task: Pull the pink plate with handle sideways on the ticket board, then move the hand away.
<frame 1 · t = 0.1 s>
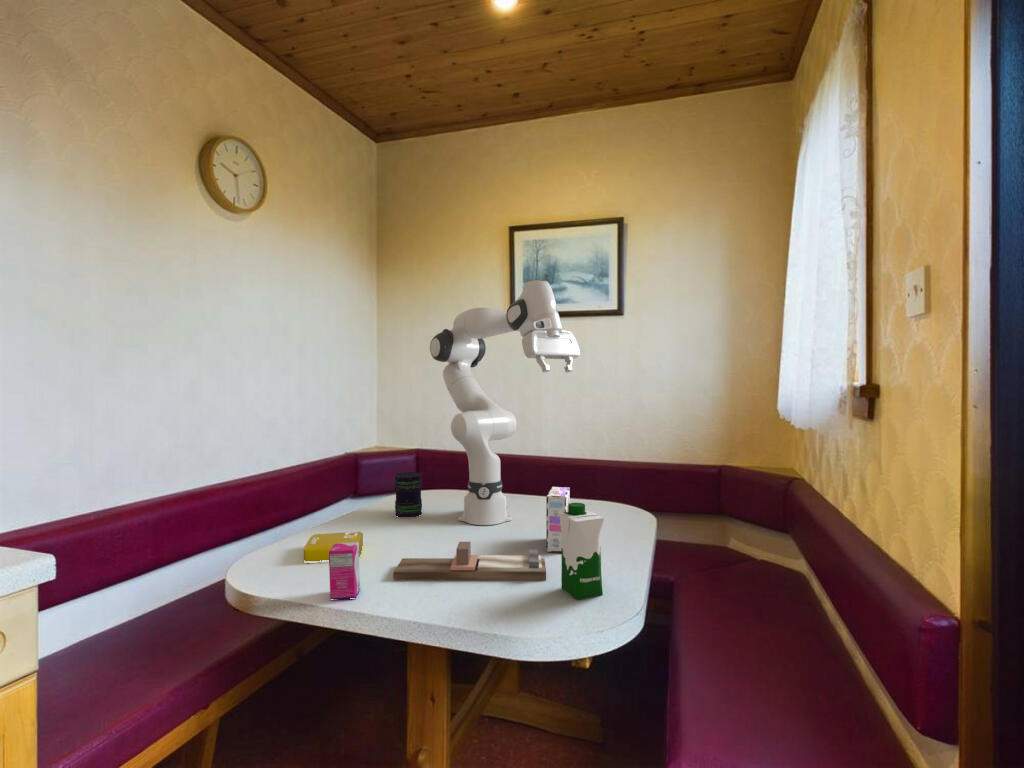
hand: (557, 371, 155), 52 cm above the table, tool tilted 20°, fingers open, 8 cm apart
element tile: (334, 555, 150), on the table
candy box: (558, 546, 156), on the table
milk carton: (581, 592, 122), on the table
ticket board: (494, 572, 134), on the table
storage jar: (408, 515, 193), on the table
supplement box: (345, 596, 121), on the table
pink plate with handle: (464, 554, 134), point 5 cm above the table, slide at 0.0 cm
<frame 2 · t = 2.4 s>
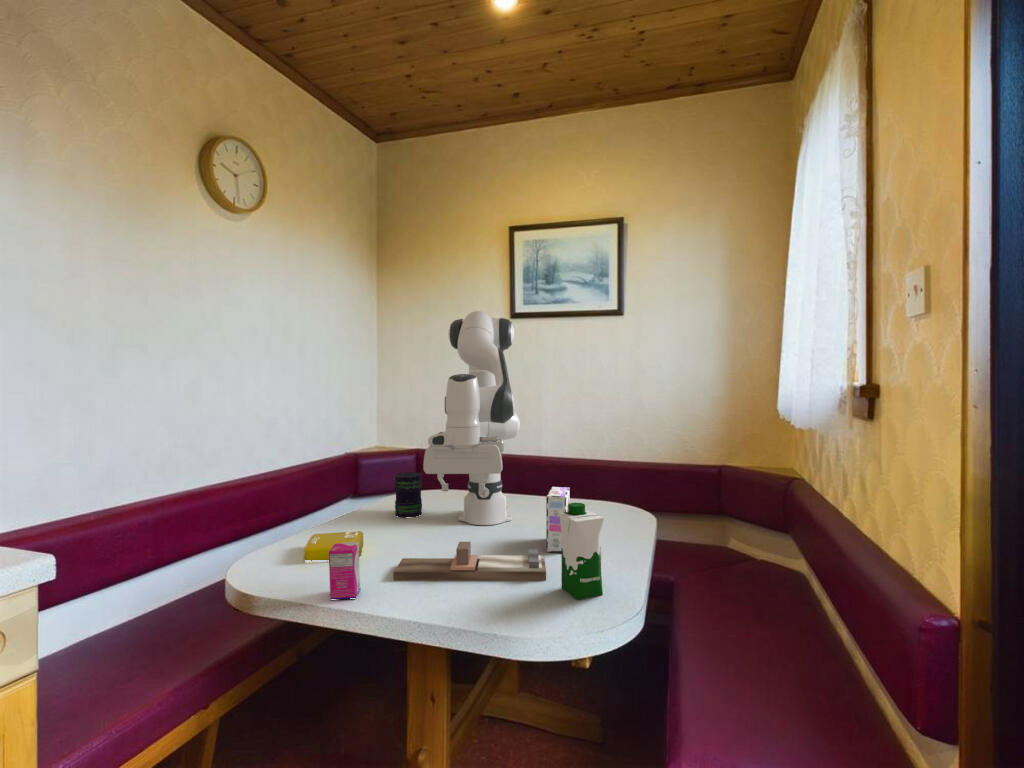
hand: (463, 490, 134), 21 cm above the table, tool pointing down, fingers open, 8 cm apart
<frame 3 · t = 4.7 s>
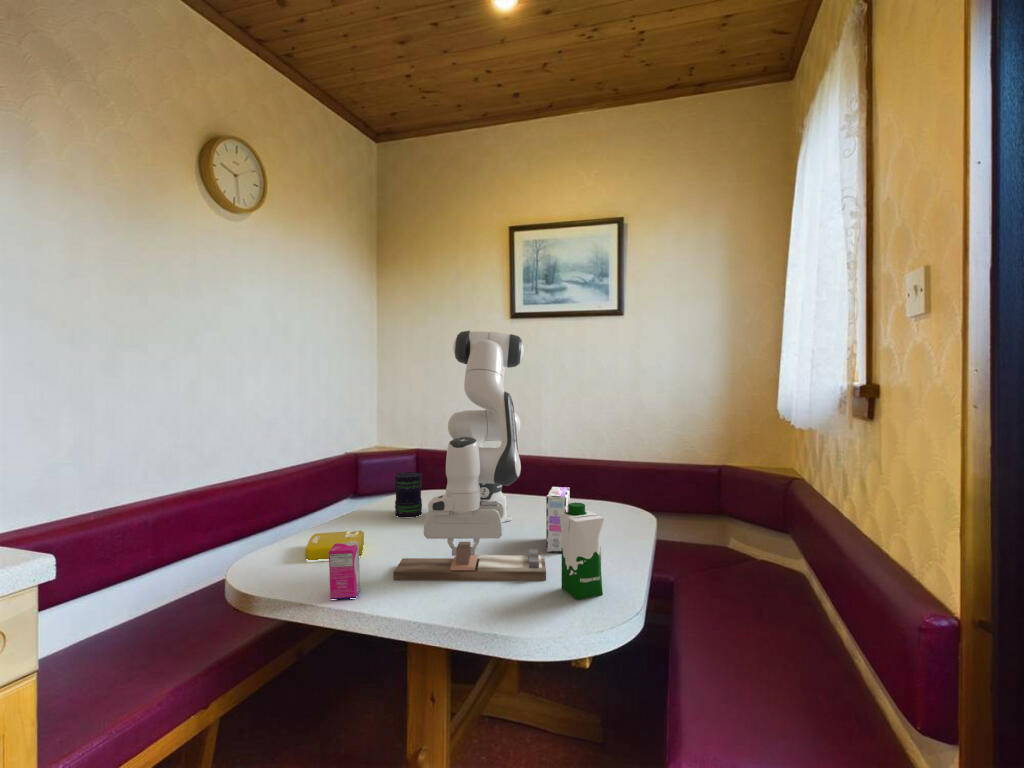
hand: (463, 554, 134), 5 cm above the table, tool pointing down, fingers closed on pink plate with handle, 3 cm apart
pink plate with handle: (464, 554, 134), point 5 cm above the table, slide at 0.0 cm, touching gripper
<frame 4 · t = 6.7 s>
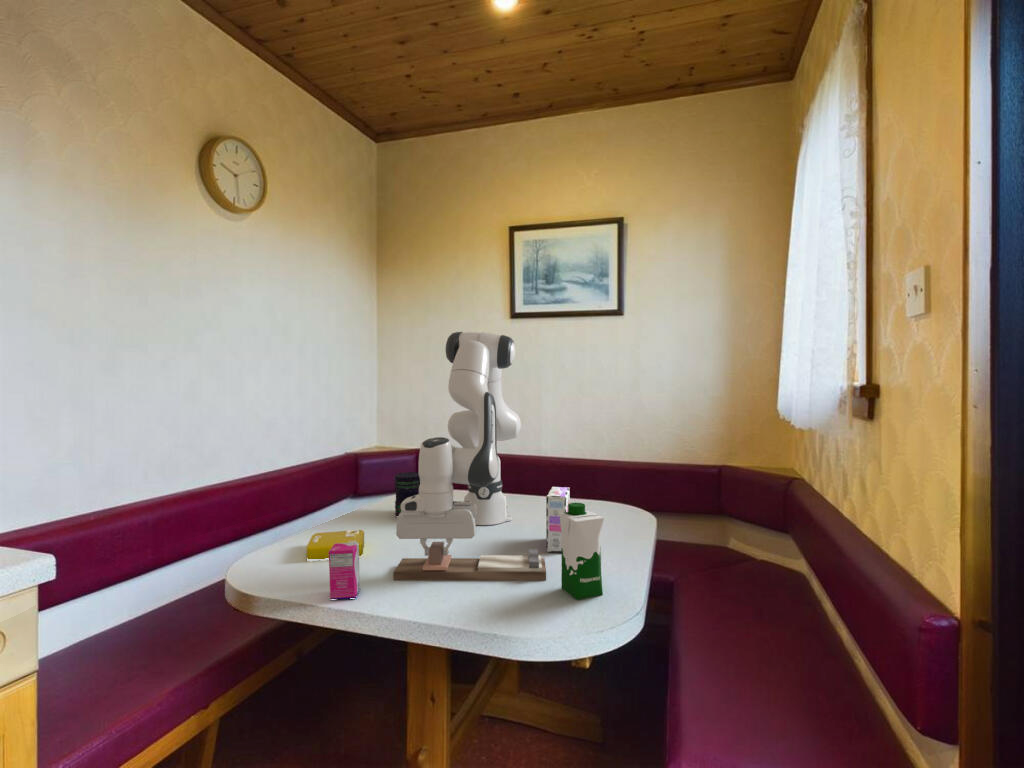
hand: (436, 555, 134), 5 cm above the table, tool pointing down, fingers closed on pink plate with handle, 3 cm apart
pink plate with handle: (437, 554, 134), point 5 cm above the table, slide at 7.0 cm, touching gripper
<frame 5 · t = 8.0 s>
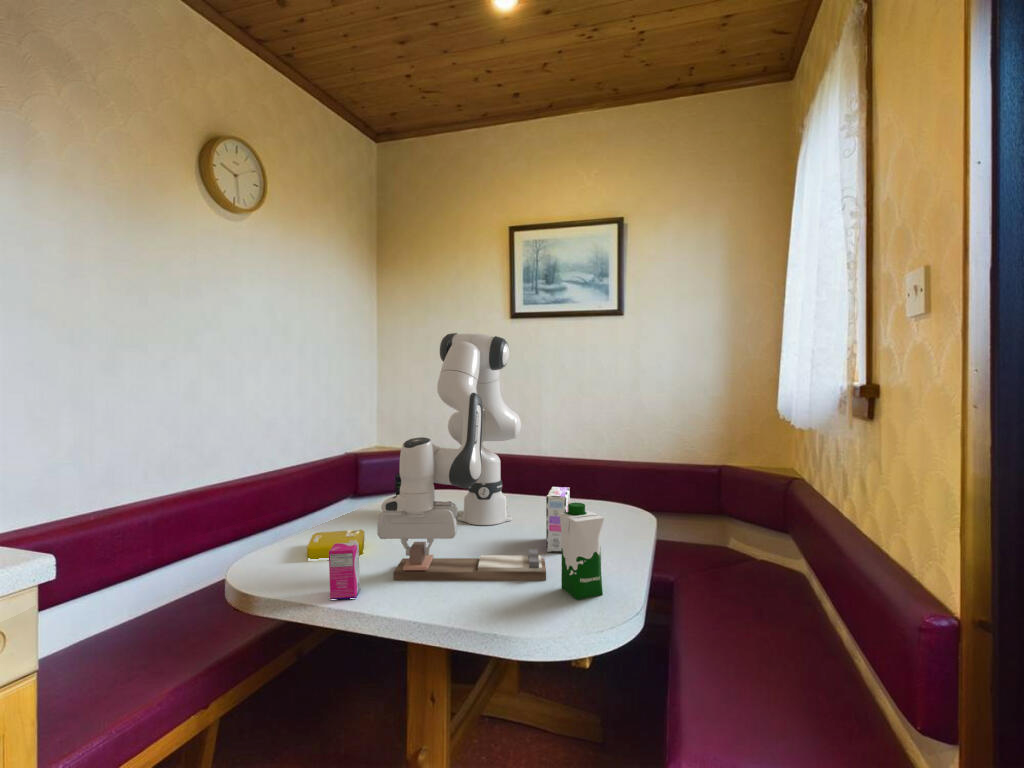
hand: (417, 555, 135), 5 cm above the table, tool pointing down, fingers closed on pink plate with handle, 3 cm apart
pink plate with handle: (418, 554, 134), point 5 cm above the table, slide at 11.9 cm, touching gripper
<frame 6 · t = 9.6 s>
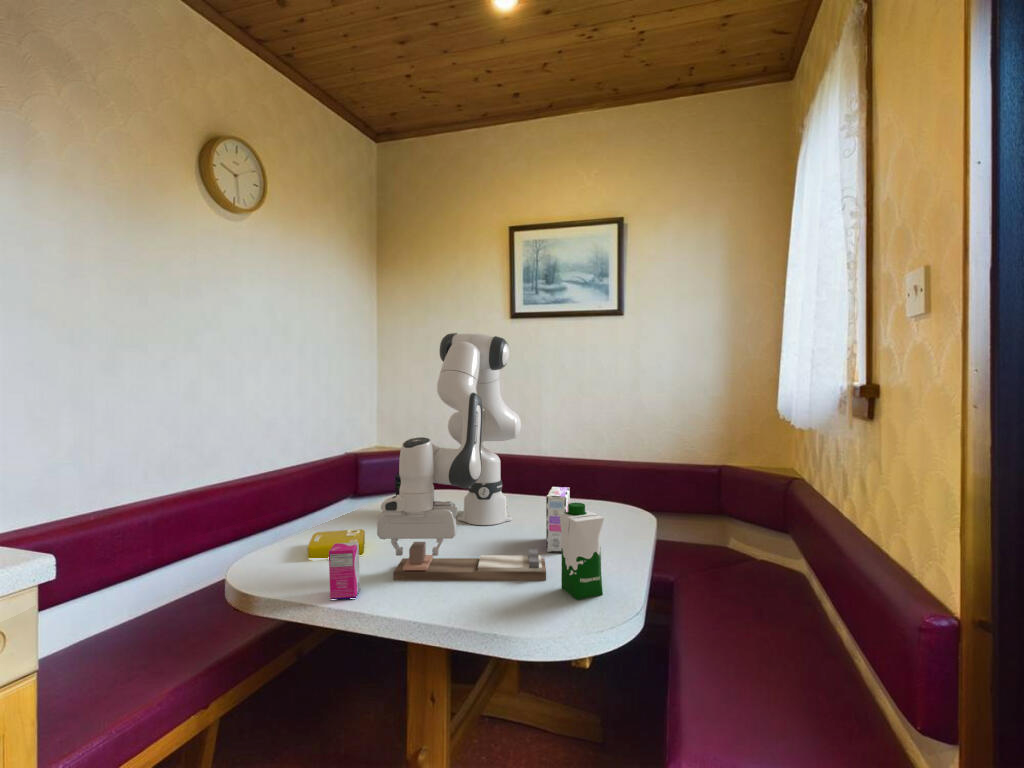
hand: (417, 554, 135), 5 cm above the table, tool pointing down, fingers open, 8 cm apart
pink plate with handle: (418, 554, 134), point 5 cm above the table, slide at 11.9 cm
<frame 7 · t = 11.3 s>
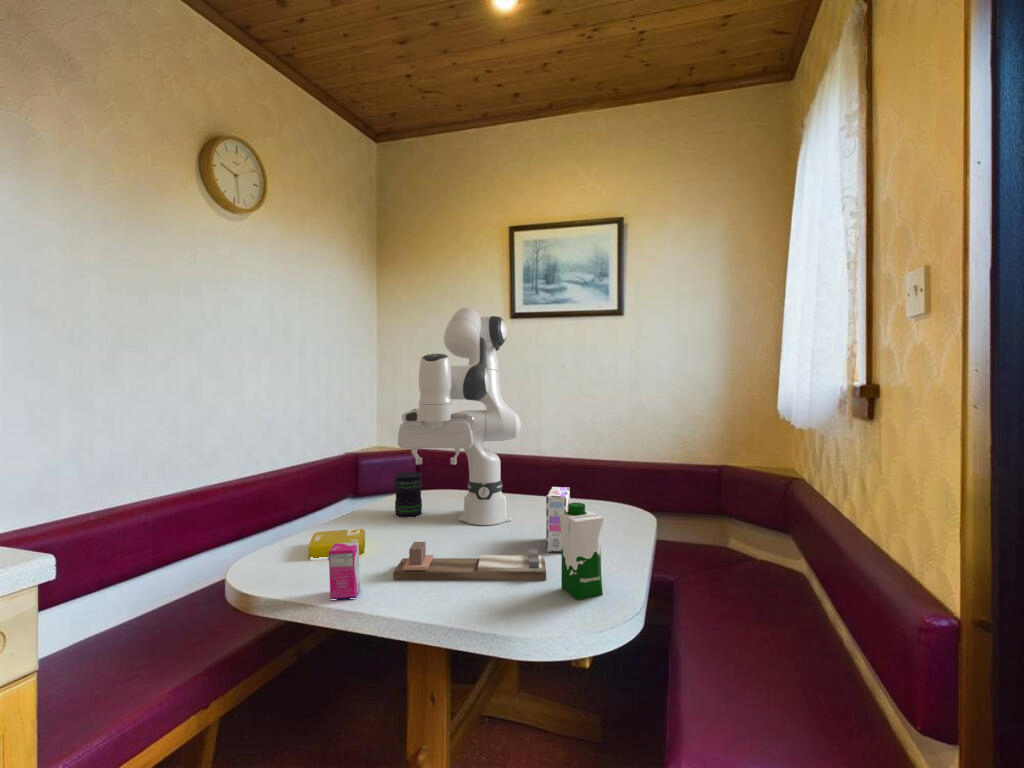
hand: (436, 464, 142), 27 cm above the table, tool pointing down, fingers open, 8 cm apart
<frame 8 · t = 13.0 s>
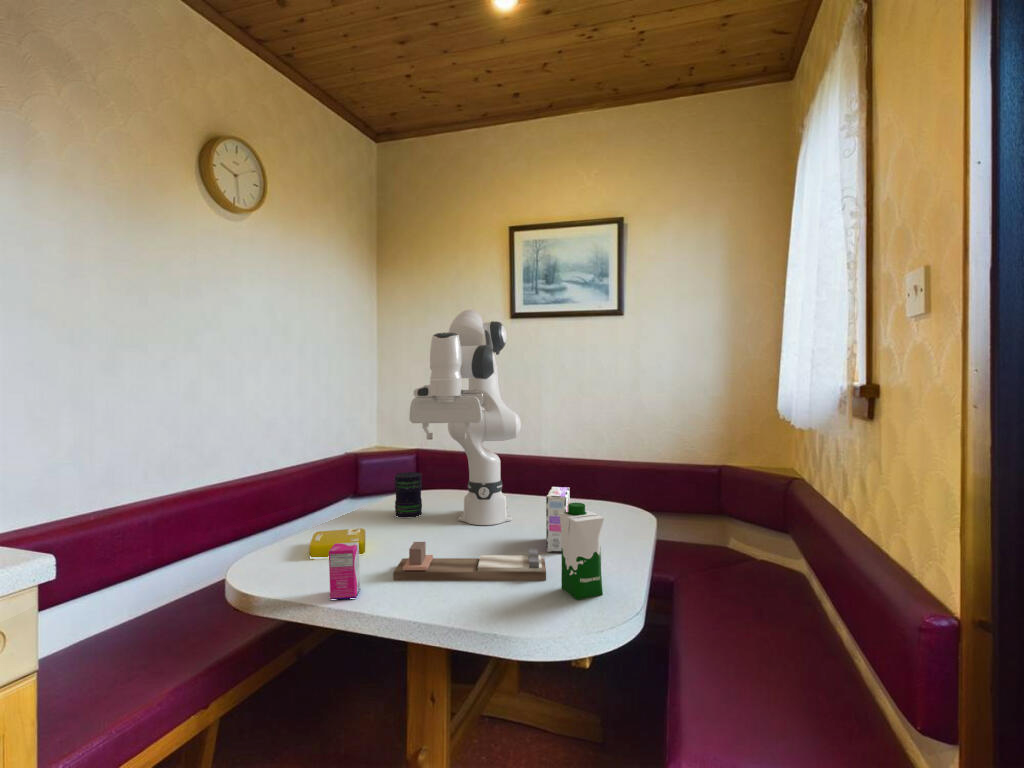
hand: (446, 439, 146), 33 cm above the table, tool pointing down, fingers open, 8 cm apart
at the end: pink plate with handle slide at 11.9 cm; the gripper is holding nothing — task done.
